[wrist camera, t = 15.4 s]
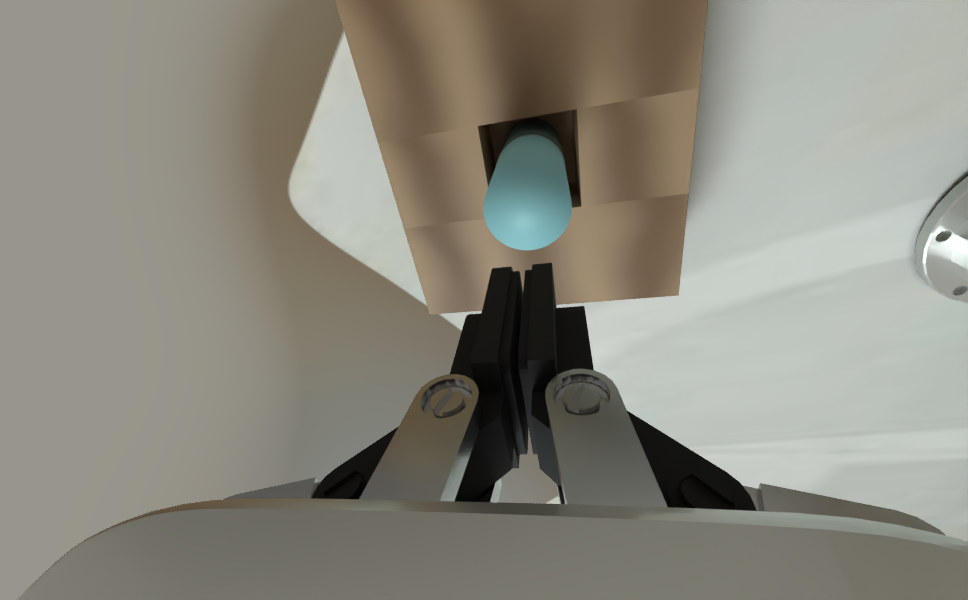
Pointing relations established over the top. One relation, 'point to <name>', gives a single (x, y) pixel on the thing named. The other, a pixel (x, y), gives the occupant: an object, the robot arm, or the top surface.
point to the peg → (529, 188)
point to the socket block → (540, 95)
